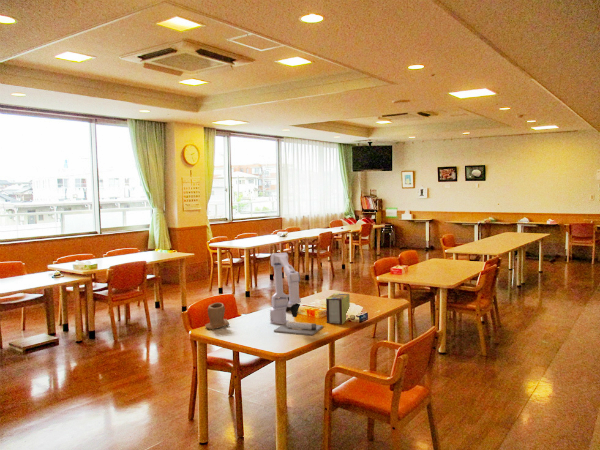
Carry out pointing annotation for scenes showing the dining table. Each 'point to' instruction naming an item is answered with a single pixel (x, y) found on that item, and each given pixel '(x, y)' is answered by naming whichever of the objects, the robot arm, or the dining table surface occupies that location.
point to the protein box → (337, 308)
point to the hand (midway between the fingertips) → (294, 316)
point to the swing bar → (301, 325)
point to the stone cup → (216, 316)
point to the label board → (297, 330)
